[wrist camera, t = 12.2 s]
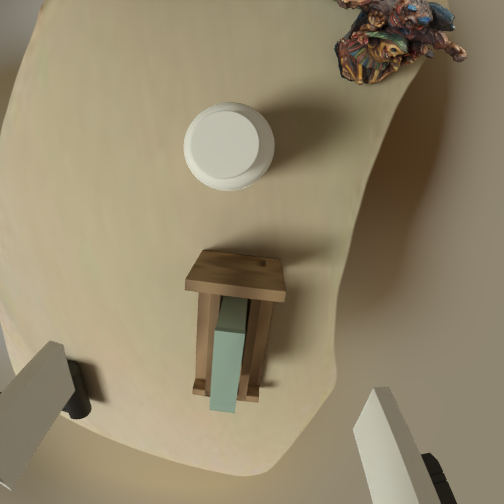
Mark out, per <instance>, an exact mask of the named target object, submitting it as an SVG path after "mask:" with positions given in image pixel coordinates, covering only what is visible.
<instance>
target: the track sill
mask: <svg viewBox="0 0 504 504" xmlns="http://www.w3.org/2000/svg"><path fill="white" fill-rule="evenodd" d="M185 290H187V291H194V292H199V299H198V319H197V343H196V378H195V382H194V386H193V394H195V395H201V396H208V397H210V393H211V376H212V361H213V346H214V332H215V327H216V325H217V321H218V317H219V313H220V309H221V305H222V301H223V297H224V296H232V297H240V298H248V300H247V311H246V323H245V339H244V346H243V354H242V361H241V369H240V376H239V384H238V391H237V398H236V400H239V401H248V402H258V399H259V384H260V379H261V373H262V368H263V362H264V357H265V351H266V346H267V340H268V334H269V329H270V323H271V317H272V311H273V305H274V301H275V302H285V297H286V287H285V282H284V277H283V272H282V267H281V262H280V259H272V258H264V257H256V256H247V255H239V254H231V253H223V252H215V251H207V250H203V251H202V252H201V254H200V256H199V257H198V259H197V261H196V262H195V264H194V266H193V267H192V269H191V271H190V272H189V274H188V276H187V277H186V279H185Z"/></svg>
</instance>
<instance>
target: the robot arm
mask: <svg viewBox="0 0 504 504" xmlns="http://www.w3.org/2000/svg"><path fill="white" fill-rule="evenodd" d="M74 391H75V388H74V385H73V381H72V378H71V374H70V370H69V367H68V363H67V359H66V355H65V351H64V346H63V344H59V343H56V342H53V341H49V342H48V343H47V344H46V345H45V346H44V347H43V348H42V349H41V350H40V351H39V352H38V353H37V354H36V355H35V356H34V358H33V359H32V360H31V361H30V362H29V363H28V364H27V365H26V366H25V367H24V368H23V369H22V370H21V371H20V373H19V374H18V375H17V376H16V377H15V378H14V379H13V380H12V381H11V382H10V384H9V385H8V386H7V387H6V388H5V389H4V390H3V391H2V392H0V484H2V485H3V486H5V487H6V488H8V489H10V490H11V491H12V490H13V488H14V487H15V485H16V483H17V481H18V480H19V478H20V476H21V474H22V473H23V471H24V469H25V468H26V466H27V464H28V463H29V461H30V459H31V458H32V456H33V454H34V453H35V451H36V450H37V448H38V446H39V445H40V443H41V441H42V440H43V438H44V437H45V435H46V434H47V432H48V431H49V429H50V427H51V426H52V424H53V423H54V421H55V420H56V418H57V417H58V415H59V414H60V412H61V411H62V409H63V408H64V406H65V405H66V403H67V402H68V400H69V399H70V397H71V396H72V394H73V393H74ZM353 432H354V435H355V438H356V442H357V445H358V449H359V453H360V456H361V460H362V463H363V467H364V471H365V474H366V478H367V482H368V486H369V490H370V493H371V497H372V501H373V504H457V503H456V500H455V498H454V495H453V493H452V491H451V488H450V486H449V484H448V482H447V481H446V477H445V475H444V473H443V470H442V468H441V466H440V464H439V462H438V461H437V459H436V458H435V457H434V456H433V455H432V454H431V453H426V454H421V455H420V452H419V450H418V448H417V445H416V443H415V441H414V439H413V437H412V435H411V432H410V430H409V428H408V426H407V424H406V421H405V419H404V417H403V415H402V413H401V411H400V409H399V407H398V405H397V402H396V400H395V398H394V396H393V394H392V392H391V390H390V388H389V387H374V388H373V389H372V391H371V394H370V396H369V398H368V400H367V402H366V404H365V406H364V408H363V410H362V413H361V415H360V417H359V419H358V421H357V423H356V425H355V426H354V428H353Z"/></svg>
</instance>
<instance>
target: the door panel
mask: <svg viewBox="0 0 504 504" xmlns="http://www.w3.org/2000/svg"><path fill="white" fill-rule="evenodd" d="M247 300H248V298H240V297H232V296H224V297H223V301H222V305H221V309H220V313H219V317H218V321H217V325H216V327H215V332H214V346H213V361H212V376H211V393H210V410H215V411H222V412H230V413H235V406H236V398H237V391H238V384H239V376H240V369H241V361H242V354H243V346H244V339H245V323H246V311H247Z"/></svg>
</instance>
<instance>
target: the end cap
mask: <svg viewBox="0 0 504 504" xmlns="http://www.w3.org/2000/svg"><path fill="white" fill-rule="evenodd" d="M67 363H68V367H69V370H70V374H71V378H72V381H73V385H74V388H75V391H74V393H73V394H72V396H71V397H70V399H69V400H68V402H67V403H66V405H65V406H64V408H63V409H62V411H65V412H68V413H69V415H70V417H71V418H72V419H82V418H84V417H86V416H88V415H89V413H90V412H91V403H90V401H89V398H88V395H87V392H86V389H85V386H84V383H83V380H82V377H81V373H80V370H79V367H78V366H77V364H76V363H75V362H73V361H70V360H67Z"/></svg>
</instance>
